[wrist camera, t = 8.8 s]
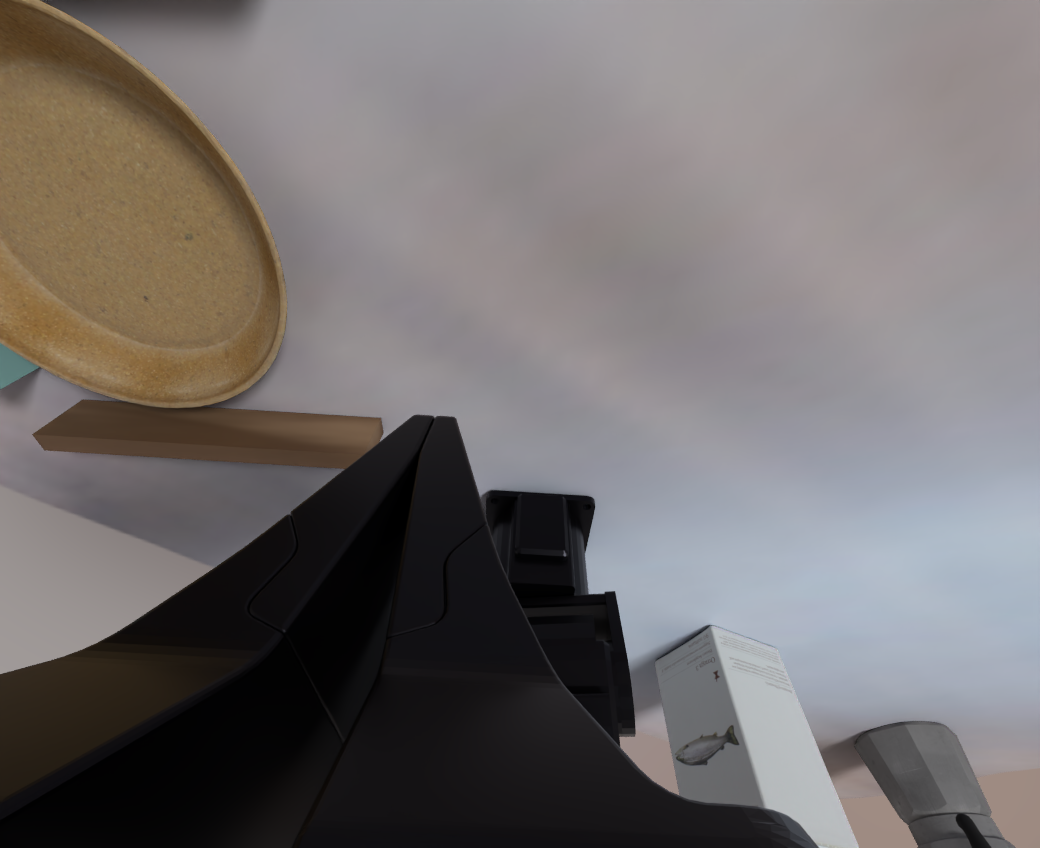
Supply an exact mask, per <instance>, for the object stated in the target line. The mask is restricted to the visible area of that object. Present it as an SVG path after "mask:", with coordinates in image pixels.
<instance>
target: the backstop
mask: <svg viewBox="0 0 1040 848" xmlns="http://www.w3.org/2000/svg"><path fill="white" fill-rule="evenodd" d="M37 368H39V366H37V365H35V364H33V363H31V362H29V361H27V360H26V359H24V358H23V357H21V356H19V355H18V354H16V353H15V352H13V351H12V350H10V349H9V348H7V347H6V346H4V345H2V344H1V343H0V389H2V388H4V387H6V386H7V385H9V384H11V383H13V382H14V381H16V380H18V379H20V378H21V377H23V376H25V375H27V374H28V373H30V372H32V371H34V370H36V369H37Z"/></svg>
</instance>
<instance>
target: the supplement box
mask: <svg viewBox="0 0 1040 848" xmlns="http://www.w3.org/2000/svg"><path fill="white" fill-rule="evenodd" d="M655 669H656V674H657V679H658V685H659V690H660V695H661V700H662V705H663V711H664V716H665V721H666V726H667V732H668V737H669V742H670V748H671V753H672V758H673V763H674V768H675V773H676V779H677V784H678V789H679V795H680V796H682V797H684V798H686V799H689V800H695V801H700V802H706V803H721V804H738V805H748V806H757V807H762V808H767V809H772V810H775V811H778V812H780V813H783V814H786V815H787V816H789V817H790V818H792V819H793V820H795V821H796V822H798V823H799V824H800V825H801V826H802V828H803V829H804V830H805V831H806V832H807V834H808V835H809V836H810V837H811V838H812V840H813V841H814V842H815V843H816V845H817V846H818V847H819V848H859V846H858V844H857V841H856V839H855V837H854V834H853V832H852V829H851V827H850V825H849V822H848V820H847V817H846V815H845V813H844V810H843V808H842V805H841V803H840V800H839V798H838V795H837V793H836V791H835V788H834V786H833V783H832V781H831V779H830V776H829V774H828V771H827V769H826V766H825V764H824V762H823V759H822V757H821V754H820V752H819V749H818V747H817V744H816V742H815V740H814V737H813V735H812V732H811V730H810V727H809V725H808V722H807V720H806V718H805V715H804V713H803V710H802V708H801V706H800V703H799V701H798V698H797V696H796V693H795V691H794V689H793V686H792V684H791V681H790V679H789V676H788V674H787V671H786V669H785V667H784V664H783V662H782V659H781V657H780V655H779V652H778V650H777V649H776V648H773V647H771V646H768V645H766V644H763V643H760V642H757V641H755V640H752V639H749V638H746V637H744V636H741V635H738V634H735V633H732V632H730V631H727V630H724V629H722V628H719V627H715V626H709V627H708V628H707V629H706V630H705V631H703V632H702V633H701V634H699V635H698V636H696V637H695V638H693V639H692V640H690V641H688V642H687V643H685V644H684V645H682V646H680V647H679V648H677V649H676V650H674V651H672V652H671V653H669V654H667V655H666V656H664V657H662V658H660V659H658V660H657V661H655Z"/></svg>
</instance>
